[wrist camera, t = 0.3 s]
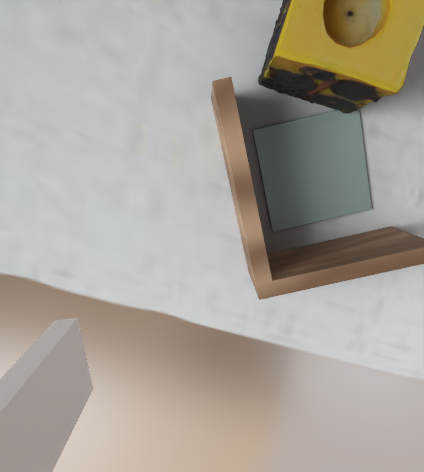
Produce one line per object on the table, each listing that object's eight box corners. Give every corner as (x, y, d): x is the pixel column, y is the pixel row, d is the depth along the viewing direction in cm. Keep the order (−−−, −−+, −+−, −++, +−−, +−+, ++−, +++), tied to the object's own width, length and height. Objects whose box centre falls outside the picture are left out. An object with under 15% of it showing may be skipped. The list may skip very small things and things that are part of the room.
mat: (252, 130, 36) (253, 130, 35) (357, 105, 35) (358, 105, 35) (272, 231, 38) (272, 231, 38) (370, 208, 38) (371, 209, 37)
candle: (387, 11, 33) (460, -53, 24) (349, 116, 35) (404, 97, 25) (287, -22, 33) (321, -103, 23) (255, 86, 35) (273, 54, 25)
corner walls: (211, 98, 35) (212, 81, 27) (371, 59, 34) (420, 30, 27) (248, 271, 39) (259, 299, 31) (392, 239, 38) (439, 260, 31)
